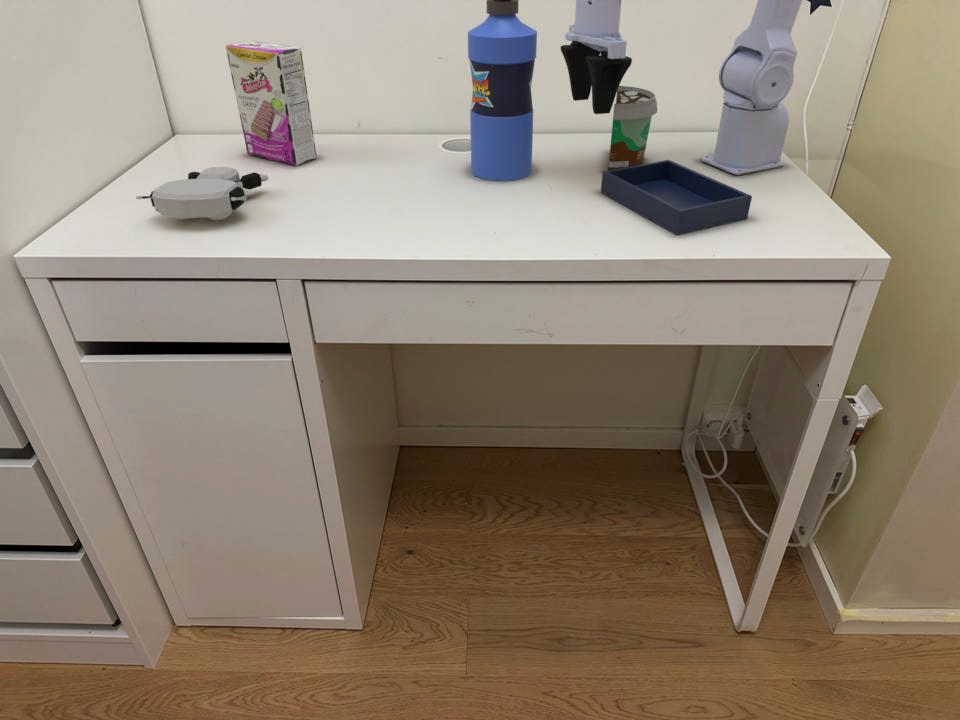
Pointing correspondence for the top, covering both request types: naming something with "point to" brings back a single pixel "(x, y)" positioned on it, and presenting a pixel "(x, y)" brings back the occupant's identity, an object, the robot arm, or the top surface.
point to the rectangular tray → (675, 196)
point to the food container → (631, 126)
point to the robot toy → (204, 194)
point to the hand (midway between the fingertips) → (590, 106)
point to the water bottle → (501, 94)
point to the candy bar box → (272, 101)
